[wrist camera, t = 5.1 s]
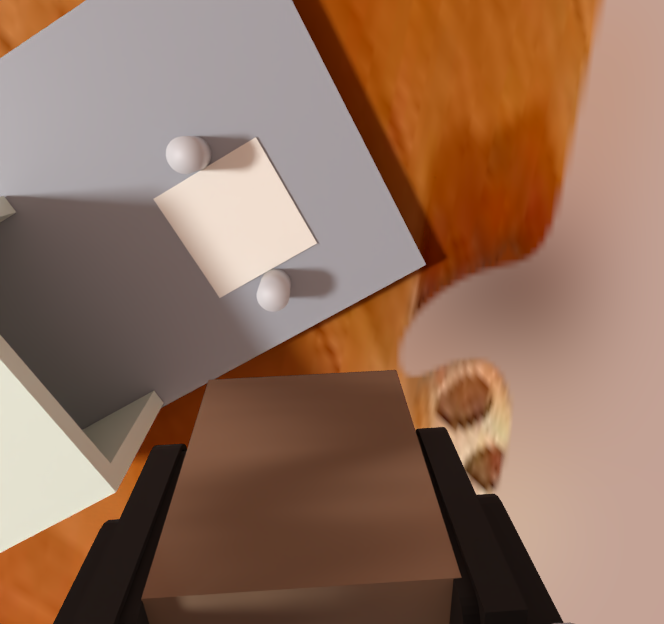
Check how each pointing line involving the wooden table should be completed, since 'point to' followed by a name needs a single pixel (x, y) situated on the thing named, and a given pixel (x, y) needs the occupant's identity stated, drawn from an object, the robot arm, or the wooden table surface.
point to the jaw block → (303, 510)
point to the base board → (179, 197)
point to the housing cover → (57, 449)
